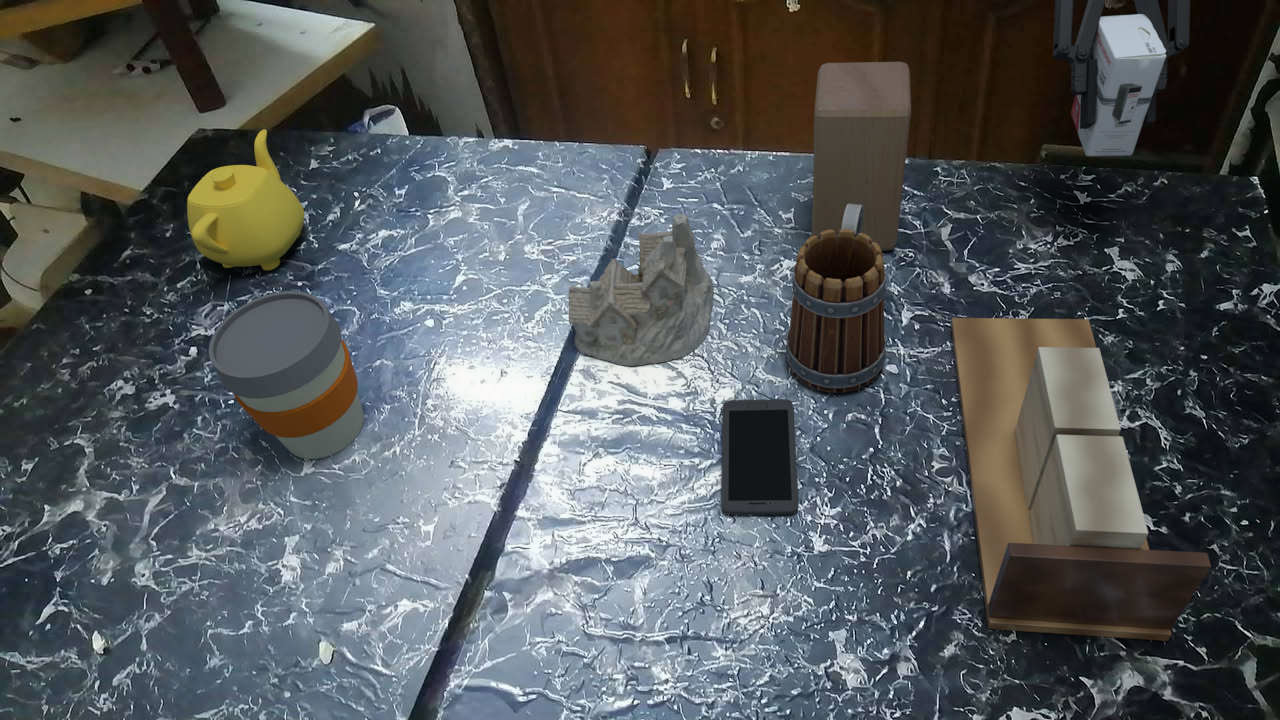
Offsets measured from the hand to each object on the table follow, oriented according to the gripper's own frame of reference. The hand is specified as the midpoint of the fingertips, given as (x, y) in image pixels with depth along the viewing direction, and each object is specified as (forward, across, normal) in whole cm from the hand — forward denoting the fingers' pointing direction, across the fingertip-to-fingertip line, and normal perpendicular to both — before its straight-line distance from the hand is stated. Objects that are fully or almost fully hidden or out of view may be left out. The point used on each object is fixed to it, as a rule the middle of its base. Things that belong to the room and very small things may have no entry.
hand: (1116, 124), depth 96 cm
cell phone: (+34, +36, +11) cm, 51 cm away
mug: (+23, +28, 0) cm, 36 cm away
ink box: (0, 0, -5) cm, 5 cm away
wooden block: (+9, +26, -14) cm, 31 cm away
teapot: (+11, +105, -12) cm, 106 cm away
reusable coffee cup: (+33, +84, +10) cm, 90 cm away
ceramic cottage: (+20, +50, -3) cm, 54 cm away
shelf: (+34, +9, +10) cm, 36 cm away
